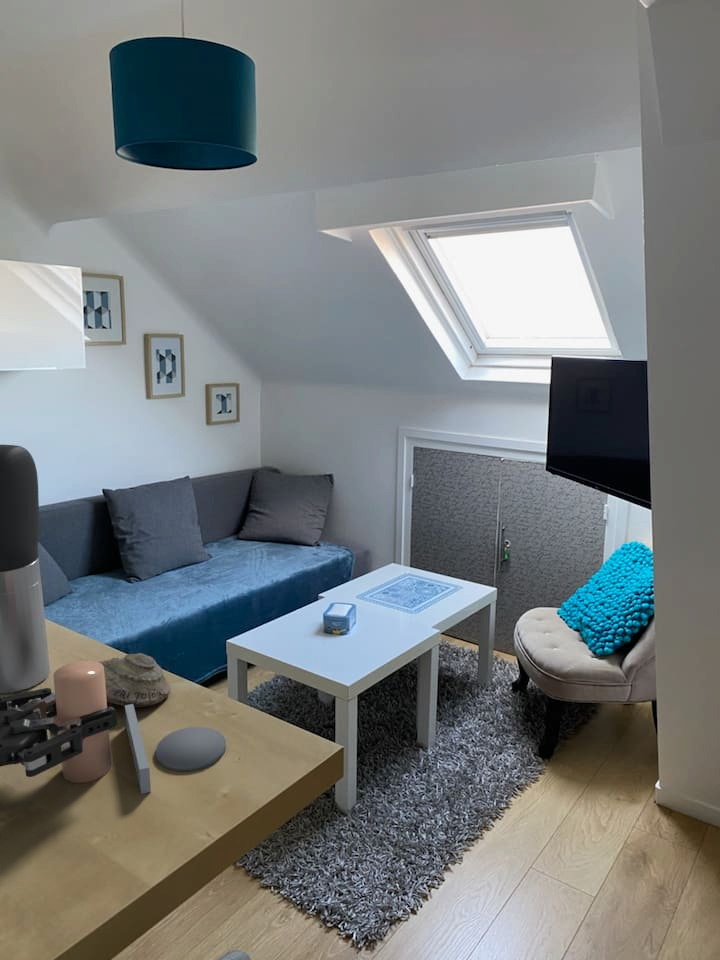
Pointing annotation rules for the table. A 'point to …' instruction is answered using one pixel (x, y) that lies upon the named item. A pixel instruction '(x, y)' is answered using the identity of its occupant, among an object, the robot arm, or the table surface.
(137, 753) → the gray rectangular bar
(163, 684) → the fossilized seashell
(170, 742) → the slate coaster
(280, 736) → the table surface
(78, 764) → the peach rounded cylinder
